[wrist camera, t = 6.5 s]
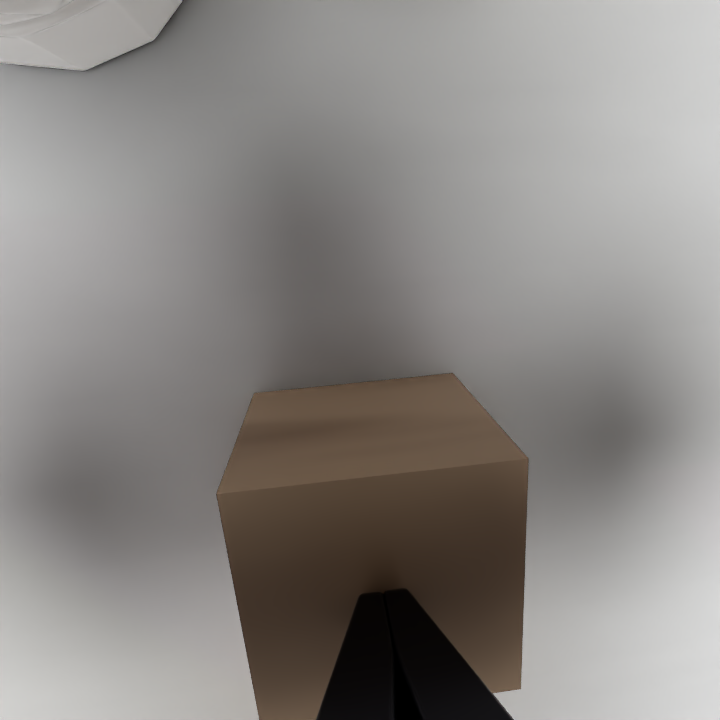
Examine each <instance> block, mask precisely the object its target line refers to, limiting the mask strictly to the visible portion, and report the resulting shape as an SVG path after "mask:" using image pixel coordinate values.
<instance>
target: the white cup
mask: <svg viewBox="0 0 720 720" xmlns="http://www.w3.org/2000/svg"><path fill="white" fill-rule="evenodd" d="M182 1H183V0H0V63H6V64H16V65H27V66H37V67H47V68H58V69H68V70H78V71H85V70H88V69H90V68H92V67H95V66H97V65H99V64H101V63H104V62H106V61H108V60H110V59H113V58H115V57H117V56H120V55H122V54H124V53H126V52H129V51H131V50H133V49H135V48H138V47H140V46H142V45H144V44H147V43H149V42H151V41H153V40H154V39H155V38H156V37H157V36H158V34H159V33H160V31H161V30H162V29H163V27H164V26H165V25H166V23H167V22H168V20H169V19H170V18H171V16H172V15H173V13H174V12H175V11H176V9H177V8H178V7H179V5H180V4H181V2H182Z"/></svg>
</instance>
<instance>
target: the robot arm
mask: <svg viewBox="0 0 720 720" xmlns="http://www.w3.org/2000/svg"><path fill="white" fill-rule="evenodd" d="M316 720H514V719H513V718H512V717H511V716H510V714H509V713H508V712H507V711H506V709H505V708H504V707H503V706H502V705H501V703H500V702H499V701H498V700H497V698H496V697H495V696H494V695H493V693H492V692H491V691H490V690H489V689H488V687H487V686H486V685H485V684H484V682H483V681H482V680H481V679H480V677H479V676H478V675H477V674H476V673H475V671H474V670H473V669H472V668H471V666H470V665H469V664H468V663H467V661H466V660H465V659H464V658H463V657H462V655H461V654H460V653H459V652H458V650H457V649H456V648H455V647H454V646H453V644H452V643H451V642H450V641H449V639H448V638H447V637H446V636H445V634H444V633H443V632H442V631H441V630H440V628H439V627H438V626H437V625H436V623H435V622H434V621H433V620H432V618H431V617H430V616H429V615H428V614H427V612H426V611H425V610H424V609H423V607H422V606H421V605H420V604H419V602H418V601H417V600H416V599H415V598H414V596H413V595H412V594H411V593H410V592H409V590H407V589H405V588H401V589H393V590H387V591H385V593H384V595H383V593H382V592H380V591H377V592H369V593H362V594H360V595H359V597H358V599H357V602H356V605H355V608H354V611H353V614H352V617H351V619H350V622H349V625H348V628H347V631H346V634H345V637H344V640H343V642H342V645H341V648H340V651H339V654H338V657H337V660H336V663H335V666H334V668H333V671H332V674H331V677H330V680H329V683H328V686H327V689H326V691H325V694H324V697H323V700H322V703H321V706H320V709H319V712H318V715H317V717H316Z"/></svg>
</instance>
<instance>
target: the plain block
mask: <svg viewBox="0 0 720 720" xmlns="http://www.w3.org/2000/svg"><path fill="white" fill-rule="evenodd" d="M528 460H529V459H528V458H527V456H526V455H525V454H524V453H523V452H522V451H521V450H520V448H519V447H518V446H517V445H516V444H515V443H514V442H513V441H512V439H511V438H510V437H509V436H508V435H507V434H506V433H505V432H504V430H503V429H502V428H501V427H500V426H499V425H498V424H497V423H496V421H495V420H494V419H493V418H492V417H491V416H490V415H489V413H488V412H487V411H486V410H485V409H484V408H483V407H482V406H481V404H480V403H479V402H478V401H477V400H476V399H475V398H474V397H473V395H472V394H471V393H470V392H469V391H468V390H467V389H466V388H465V386H464V385H463V384H462V383H461V382H460V381H459V380H458V379H457V377H456V376H455V375H454V374H453V373H449V374H439V375H429V376H419V377H409V378H399V379H389V380H379V381H369V382H359V383H349V384H339V385H329V386H319V387H309V388H299V389H289V390H279V391H269V392H259V393H254V395H253V397H252V400H251V403H250V405H249V408H248V411H247V413H246V416H245V419H244V421H243V424H242V427H241V429H240V432H239V435H238V437H237V440H236V443H235V445H234V448H233V451H232V453H231V456H230V459H229V461H228V464H227V467H226V469H225V472H224V475H223V477H222V480H221V483H220V485H219V488H218V491H217V493H216V496H217V501H218V506H219V511H220V516H221V522H222V527H223V532H224V537H225V543H226V548H227V553H228V558H229V563H230V569H231V574H232V579H233V584H234V590H235V595H236V600H237V605H238V610H239V616H240V621H241V626H242V631H243V637H244V642H245V647H246V652H247V657H248V663H249V668H250V673H251V678H252V684H253V689H254V694H255V699H256V704H257V710H258V715H259V720H309V719H316V717H317V715H318V712H319V709H320V706H321V703H322V700H323V697H324V694H325V691H326V689H327V686H328V683H329V680H330V677H331V674H332V671H333V668H334V666H335V663H336V660H337V657H338V654H339V651H340V648H341V645H342V642H343V640H344V637H345V634H346V631H347V628H348V625H349V622H350V619H351V617H352V614H353V611H354V608H355V605H356V602H357V599H358V597H359V595H360V594H362V593H369V592H377V591H380V592H382V593H383V595H384V593H385V591H387V590H393V589H401V588H405V589H407V590H409V592H410V593H411V594H412V595H413V596H414V598H415V599H416V600H417V601H418V602H419V604H420V605H421V606H422V607H423V609H424V610H425V611H426V612H427V614H428V615H429V616H430V617H431V618H432V620H433V621H434V622H435V623H436V625H437V626H438V627H439V628H440V630H441V631H442V632H443V633H444V634H445V636H446V637H447V638H448V639H449V641H450V642H451V643H452V644H453V646H454V647H455V648H456V649H457V650H458V652H459V653H460V654H461V655H462V657H463V658H464V659H465V660H466V661H467V663H468V664H469V665H470V666H471V668H472V669H473V670H474V671H475V673H476V674H477V675H478V676H479V677H480V679H481V680H482V681H483V682H484V684H485V685H486V686H487V687H488V689H489V690H490V691H491V692H492V693H497V692H504V691H510V690H517V689H521V667H522V637H523V608H524V578H525V549H526V519H527V490H528Z"/></svg>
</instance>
